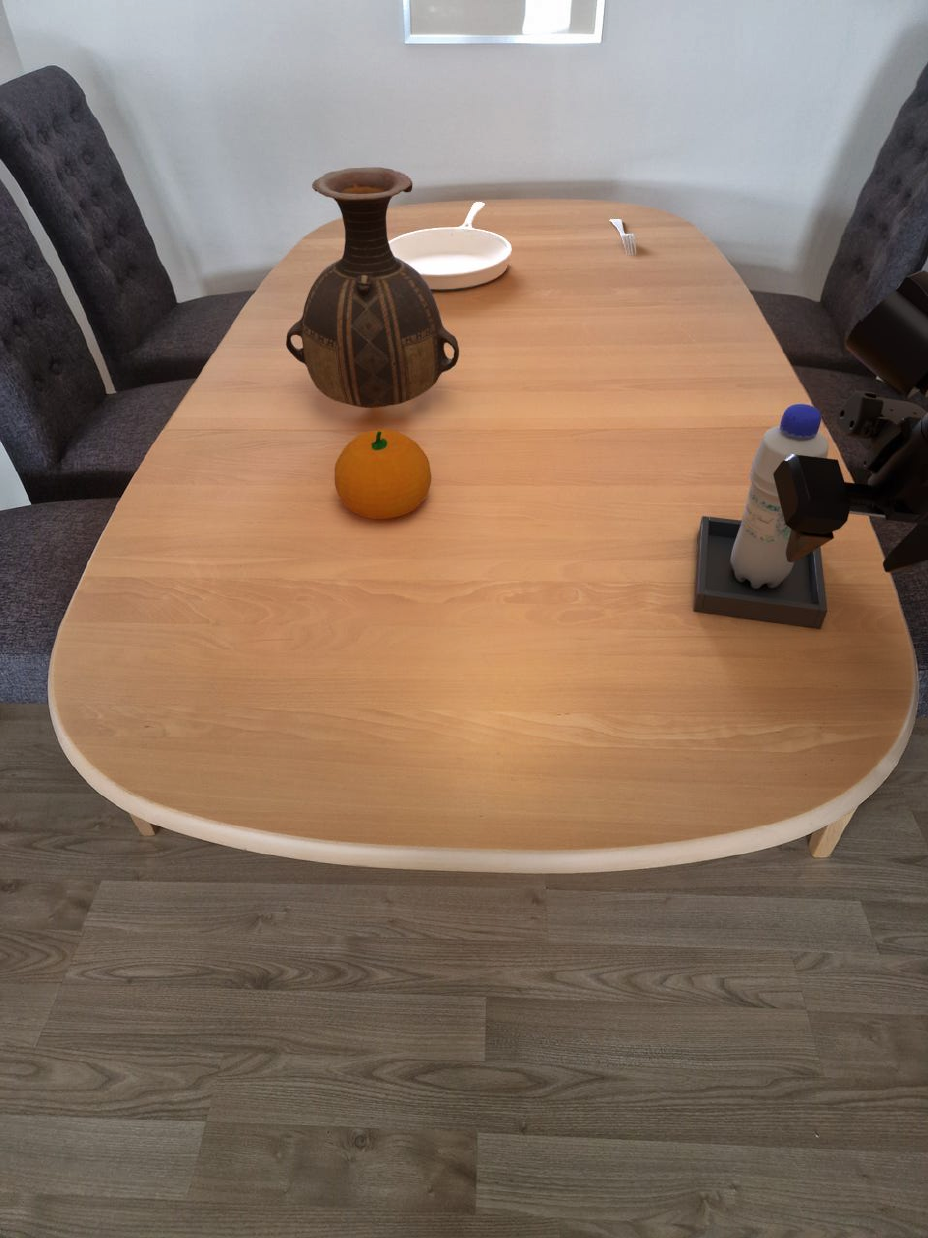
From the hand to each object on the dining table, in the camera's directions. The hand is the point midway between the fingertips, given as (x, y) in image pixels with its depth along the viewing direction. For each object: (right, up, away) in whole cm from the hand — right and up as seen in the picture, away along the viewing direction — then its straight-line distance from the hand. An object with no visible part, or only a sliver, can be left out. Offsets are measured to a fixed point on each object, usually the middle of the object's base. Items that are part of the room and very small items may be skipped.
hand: (837, 562), depth 71 cm
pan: (-34, +67, +89) cm, 116 cm away
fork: (0, +73, +94) cm, 119 cm away
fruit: (-42, +10, +30) cm, 53 cm away
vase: (-45, +26, +47) cm, 70 cm away
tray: (-1, 0, +17) cm, 17 cm away
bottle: (-1, 0, +17) cm, 17 cm away
